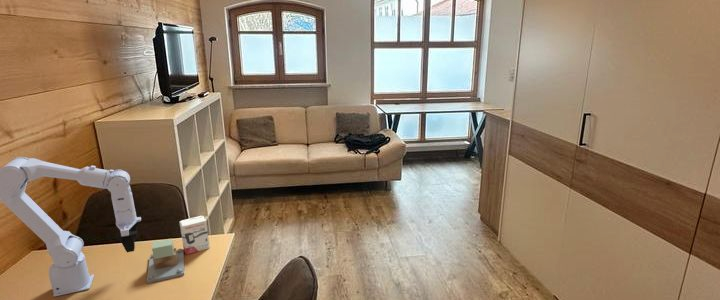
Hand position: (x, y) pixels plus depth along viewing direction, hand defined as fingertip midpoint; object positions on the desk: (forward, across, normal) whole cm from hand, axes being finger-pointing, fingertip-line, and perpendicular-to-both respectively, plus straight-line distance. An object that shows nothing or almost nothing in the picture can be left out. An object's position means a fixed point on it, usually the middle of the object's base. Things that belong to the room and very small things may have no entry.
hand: (131, 245), depth 130 cm
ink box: (+11, +8, -19) cm, 23 cm away
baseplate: (+10, 0, -9) cm, 14 cm away
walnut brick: (+9, 0, -9) cm, 13 cm away
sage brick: (+5, 0, -9) cm, 10 cm away
